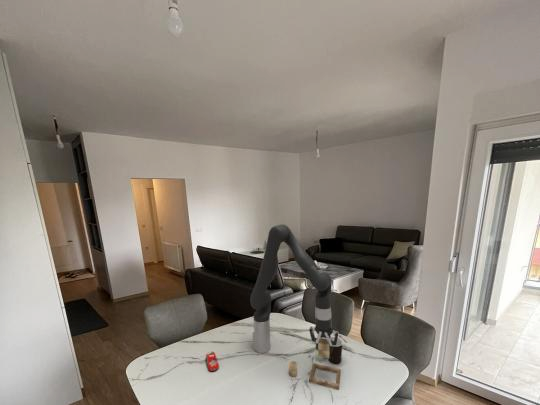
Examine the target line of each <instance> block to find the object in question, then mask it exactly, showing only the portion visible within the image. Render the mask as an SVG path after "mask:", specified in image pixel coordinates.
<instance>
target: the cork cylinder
mask: <svg viewBox="0 0 540 405" xmlns="http://www.w3.org/2000/svg"><path fill="white" fill-rule="evenodd" d="M288 375H289V377H290V378H296V377H298V363H297V362H296V361H295V360H294V361H293V360H292V361H290V362H288Z"/></svg>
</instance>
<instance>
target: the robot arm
mask: <svg viewBox="0 0 540 405" xmlns="http://www.w3.org/2000/svg"><path fill="white" fill-rule="evenodd" d="M267 235H268V237H267V241H266V246H265V250H264V254H263V258H262V262H261V265H260V269H259V273H258V275H257V279H256V282H255V285H254V287H253V290H252V291H251V295H250V298H249V299H250V301H249V302H250V306H251V308H253V310H256V311H254V313H253V332H252V350H253V351H255V352H256V353H258V354H265V353H268V352H269V351H271V324H270V316H271V312H272V300H271V299H272V298H271V293H270V292H269V291H268V290H267V288H268V287H269V286H270V285H271V283H272V282H273V280H274V279H275V277H276V275H277V272H278V268H279V259H278V252H279V249H280V247H281V245H282V243H284V244H286V245H287V246H288V248H289V249H290V250H291V253H292V256H293V258H294V260H295V262H296V263H297V265H298V266H299V268H300V269H301V270H302V271H303V272H304V273H305V275H306V276H307V279H308V280H309V283H310V284H311V285H312V287H313V288H314V289H316V290H317V293H316V294H315V298H314V299H315V305H314V306H315V309H314V310H315V311H314V312H315V313H314V314H315V315H314V318H315V319H314V320H315V326H314V327H313V326H310V327H309V330H308V331H309V334H310V338H311V339H310V340H311V342H314V343H315V351H316V350H317V351H318V343H319V339H320V338H324V339H327V340H328V342H329V344H330V346H329V353H330V354H331V352H333V345H335V346H336V343H337V339H338V338H339V330H334V329H333V326H332V322H333V321H332V315H333V314H332V308H331V293H332V284H333V283H332V278H331V275H330V274H329V273H328V272H323V271H322V272H320V271H318V269H317V268H318V265H317V263H316V262H315V261H314V259H313V258H311V256H310V255H309V254H308V253H307V252H306V251H305V249H304V248H303V247H302V245H301V244H300V242H299V241H298V239H297V238H296V236H295V235H294V232H292V230H291V229H290V227H289V226H288V225H286V224H278V225H275V226H272V227H271V228H270V230H269V232H268V234H267ZM315 332H316V334H317V336H315ZM332 334H333V337H335V339H334V341H332V339H331V337H332Z"/></svg>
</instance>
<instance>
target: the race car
mask: <svg viewBox="0 0 540 405" xmlns="http://www.w3.org/2000/svg"><path fill="white" fill-rule="evenodd" d="M218 361H219V360H218V358H217V356H216V352H214V351H209V352H207V353H206V354H205V362H206V366H207V369H208V372H211V373H212V372H215V371H217V370H219V369H220V364H219V362H218Z"/></svg>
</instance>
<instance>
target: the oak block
mask: <svg viewBox="0 0 540 405" xmlns="http://www.w3.org/2000/svg"><path fill="white" fill-rule="evenodd" d="M329 346H330V344H329V342H328V340H327V339H326V338H320V339H319V343H318V356H320V357H324V358H325V359H329V355H330V353H329Z"/></svg>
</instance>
